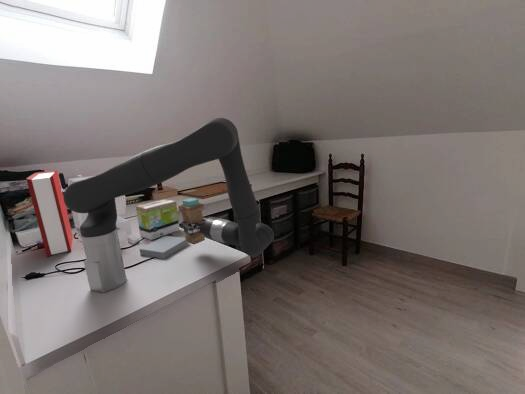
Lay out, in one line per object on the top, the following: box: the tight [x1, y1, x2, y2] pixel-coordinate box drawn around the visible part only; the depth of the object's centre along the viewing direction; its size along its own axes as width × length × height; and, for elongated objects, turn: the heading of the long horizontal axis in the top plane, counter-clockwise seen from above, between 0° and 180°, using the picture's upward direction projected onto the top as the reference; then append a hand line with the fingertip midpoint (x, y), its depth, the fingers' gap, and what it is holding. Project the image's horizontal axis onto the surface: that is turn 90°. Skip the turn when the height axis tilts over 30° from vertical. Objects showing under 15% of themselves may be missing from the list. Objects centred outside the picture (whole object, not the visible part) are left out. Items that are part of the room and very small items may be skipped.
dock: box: [139, 235, 190, 260], centre depth 108 cm, size 14×12×2 cm
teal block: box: [182, 197, 200, 207], centre depth 98 cm, size 4×4×3 cm
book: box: [25, 170, 73, 258], centre depth 118 cm, size 27×8×32 cm, turn 34°
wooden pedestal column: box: [177, 202, 206, 245], centre depth 99 cm, size 6×6×14 cm
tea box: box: [135, 199, 181, 241], centre depth 126 cm, size 15×10×15 cm
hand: (188, 221), depth 101 cm, fingers closed on wooden pedestal column, 5 cm apart
